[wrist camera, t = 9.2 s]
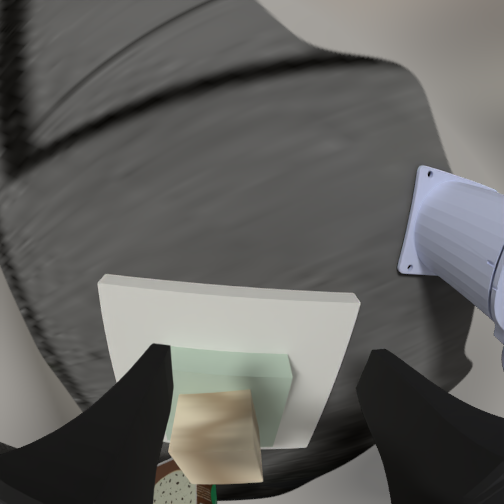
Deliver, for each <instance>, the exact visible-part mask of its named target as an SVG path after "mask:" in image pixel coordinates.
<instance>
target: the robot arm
mask: <svg viewBox="0 0 504 504" xmlns="http://www.w3.org/2000/svg"><path fill="white" fill-rule="evenodd" d="M428 172H430V176H429V177H428ZM409 265H410V268H409V269H407V268H408V266H409ZM397 268H398V271H399V272H401V273H403V274H418V275H435V276H439V277H440V278H442V279H443V280H444V281H446V282H447V283H448V284H449V285H451V286H452V287H453V288H454V289H456V290H457V291H458V292H459V293H461V294H462V295H463V296H464V297H465V298H467V299H468V300H469V301H470V302H471V303H473V304H474V305H475V306H476V307H478V308H479V309H480V310H481V311H482V312H483V313H485V314H486V315H487V316H488V317H489V318H490V319H491V320H493V321H494V323H495V330H494V336H495V337H496V338H497V339H498V340H499V341H500V342H501V343H503V345H504V195H503V194H500V193H497V190H495V189H492V188H490V187H487V186H485V185H482V184H479V183H477V182H474V181H471V180H468V179H465V178H462V177H460V176H457V175H453V174H450V173H447V172H444V171H441V170H438V169H434V168H431V167H428V166H419V168H418V170H417V175H416V182H415V188H414V194H413V199H412V205H411V210H410V215H409V220H408V224H407V229H406V233H405V238H404V242H403V246H402V250H401V254H400V258H399V262H398V266H397ZM502 367H503V370H504V347H503V351H502ZM173 389H174V383H173V372H172V360H171V346H170V345H164V344H155V343H153V344H151V345H150V346H149V347H148V349H147V350H146V351H145V352H144V353H143V355H142V356H141V357H140V358H139V359H138V360H137V362H136V363H135V364H134V365H133V366H132V367H131V368H130V369H129V370H128V372H127V373H126V374H125V375H124V376H123V377H122V378H121V379H120V380H119V381H118V382H117V383H116V384H115V385H114V386H113V387H112V388H111V389H110V390H109V391H108V392H106V393H105V394H104V395H103V396H102V397H101V398H100V399H99V400H98V401H97V402H95V403H94V404H93V405H92V406H91V407H89V408H88V409H87V410H85V411H84V412H83V413H81V414H80V415H79V416H77V417H76V418H75V419H73V420H71V421H70V422H68V423H67V424H65V425H64V426H62V427H61V428H59V429H57V430H56V431H54V432H52V433H50V434H48V435H46V436H44V437H42V438H41V439H39V440H36V441H35V442H32V443H30V444H28V445H26V446H23V447H21V448H18V449H15V450H12V451H9V452H6V453H3V454H0V504H153V499H154V488H155V478H156V470H157V465H158V460H159V456H160V452H161V448H162V444H163V440H164V436H165V432H166V428H167V424H168V420H169V416H170V412H171V405H172V397H173ZM356 390H357V394H358V398H359V402H360V406H361V410H362V412H363V415H364V417H365V420H366V422H367V425H368V427H369V429H370V432H371V434H372V436H373V439H374V441H375V444H376V446H377V448H378V451H379V453H380V456H381V459H382V462H383V465H384V469H385V473H386V477H387V481H388V486H389V492H390V497H391V503H392V504H504V418H502V417H498V416H495V415H493V414H490V413H487V412H485V411H482V410H480V409H477V408H475V407H473V406H471V405H469V404H467V403H465V402H463V401H461V400H459V399H458V398H456V397H454V396H452V395H451V394H449V393H448V392H446V391H444V390H443V389H441V388H440V387H438V386H437V385H435V384H434V383H432V382H431V381H430V380H428V379H427V378H425V377H424V376H423V375H421V374H420V373H419V372H417V371H416V370H414V369H413V368H412V367H410V366H409V365H408V364H406V363H405V362H404V361H402V360H401V359H400V358H398V357H397V356H395V355H394V354H393V353H391V352H390V351H388V350H386V349H378V350H372V351H371V354H370V356H369V359H368V361H367V364H366V366H365V369H364V371H363V373H362V376H361V378H360V381H359V383H358V385H357V387H356Z"/></svg>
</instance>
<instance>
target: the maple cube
mask: <svg viewBox="0 0 504 504" xmlns="http://www.w3.org/2000/svg"><path fill="white" fill-rule="evenodd" d="M168 452H169V454H170V455H171V456H172V458H173V459H174V461H175V462H176V463H177V465H178V466H179V468H180V469H181V470H182V472H183V473H184V474H185V476H186V477H187V478H188V480H189V481H190V482H191V484H239V483H253V482H263V473H262V461H261V448H260V436H259V427H258V422H257V418H256V413H255V408H254V404H253V399H252V394H251V389H248V390H238V391H227V392H214V393H198V394H179V396H178V401H177V407H176V412H175V417H174V423H173V428H172V434H171V439H170V445H169V451H168Z"/></svg>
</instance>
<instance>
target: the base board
mask: <svg viewBox="0 0 504 504" xmlns="http://www.w3.org/2000/svg"><path fill="white" fill-rule="evenodd" d="M98 291H99V298H100V304H101V311H102V317H103V322H104V328H105V333H106V338H107V343H108V348H109V353H110V357H111V361H112V366H113V370H114V374H115V378H116V382H118V381H119V380H120V379H121V378H122V377H123V376H124V375H125V374H126V373H127V372H128V370H129V369H130V368H131V367H132V366H133V365H134V364H135V363H136V362H137V360H138V359H139V358H140V357H141V356H142V355H143V353H144V352H145V351H146V350H147V349H148V347H149V346H150V345H151V344H153V343H155V344H164V345H170V346H171V360H172V372H173V383H174V389H173V397H172V405H171V412H170V416H169V420H168V424H167V428H166V432H165V436H164V440H163V442H169V443H170V439H171V434H172V428H173V423H174V417H175V412H176V407H177V401H178V396H179V394H198V393H214V392H227V391H238V390H248V389H251V394H252V399H253V404H254V408H255V413H256V418H257V422H258V427H259V436H260V448H261V449H287V448H305V447H307V445H308V443H309V441H310V439H311V437H312V435H313V432H314V430H315V428H316V426H317V423H318V421H319V419H320V416H321V414H322V412H323V409H324V407H325V404H326V402H327V400H328V397H329V395H330V392H331V390H332V387H333V384H334V382H335V379H336V376H337V374H338V371H339V368H340V366H341V363H342V360H343V357H344V354H345V351H346V348H347V345H348V342H349V339H350V336H351V333H352V330H353V327H354V324H355V321H356V317H357V314H358V311H359V307H360V304H361V303H360V301H359V300H358V298H357V297H356V296H355V294H354V293H341V292H319V291H300V290H283V289H267V288H252V287H239V286H225V285H213V284H201V283H190V282H179V281H168V280H158V279H148V278H138V277H129V276H120V275H111V274H105V275H104V276H103V277H102V278H101V280H100V281H99V282H98Z"/></svg>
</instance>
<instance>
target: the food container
mask: <svg viewBox="0 0 504 504" xmlns="http://www.w3.org/2000/svg"><path fill="white" fill-rule="evenodd" d="M153 504H217V495H216V484H191V482H190V481H189V480H188V478H187V477H186V476H185V474H184V473H183V472H182V470H181V469H180V468H179V466H178V465H177V463H176V462H175V461H174V459H173V458H170V459H168V460H166V461H164V462H162V463H159V464H158V465H157V470H156V478H155V488H154V499H153Z"/></svg>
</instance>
